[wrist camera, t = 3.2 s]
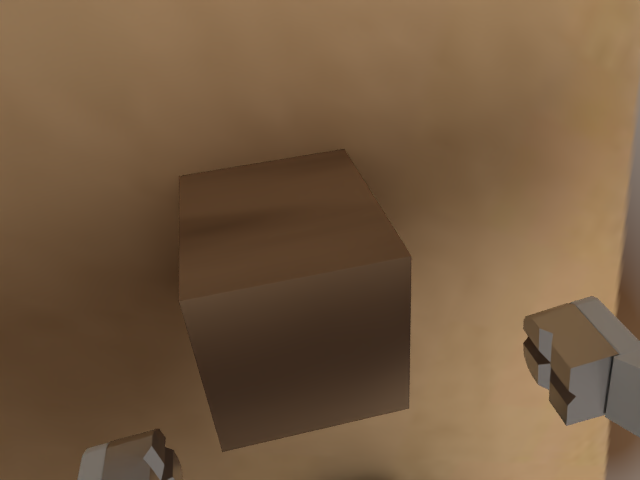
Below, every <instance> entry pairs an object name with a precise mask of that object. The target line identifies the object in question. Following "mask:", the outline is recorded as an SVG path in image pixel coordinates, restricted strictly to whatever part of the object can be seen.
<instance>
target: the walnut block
mask: <svg viewBox="0 0 640 480" xmlns="http://www.w3.org/2000/svg"><path fill="white" fill-rule="evenodd" d="M179 303H180V307H181V310H182V314H183V317H184V321H185V324H186V328H187V331H188V334H189V338H190V341H191V345H192V348H193V352H194V355H195V359H196V362H197V366H198V369H199V373H200V376H201V380H202V383H203V386H204V390H205V393H206V397H207V400H208V404H209V407H210V411H211V414H212V418H213V421H214V425H215V428H216V431H217V435H218V438H219V442H220V445H221V449H222V452H224V451H228V450H233V449H237V448H241V447H246V446H250V445H254V444H258V443H263V442H267V441H271V440H276V439H280V438H284V437H288V436H293V435H297V434H301V433H306V432H310V431H314V430H319V429H323V428H327V427H331V426H336V425H340V424H344V423H349V422H353V421H357V420H362V419H366V418H370V417H374V416H379V415H383V414H387V413H392V412H396V411H400V410H405V409H409V385H410V314H411V255H410V253H409V252H408V250H407V248H406V247H405V245H404V244H403V242H402V240H401V239H400V237H399V236H398V234H397V232H396V231H395V229H394V228H393V226H392V224H391V223H390V221H389V220H388V218H387V217H386V215H385V213H384V212H383V210H382V209H381V207H380V205H379V204H378V202H377V201H376V199H375V197H374V196H373V194H372V193H371V191H370V190H369V188H368V186H367V185H366V183H365V182H364V180H363V178H362V177H361V175H360V174H359V172H358V170H357V169H356V167H355V166H354V164H353V162H352V161H351V159H350V158H349V156H348V155H347V153H346V151H345V150H344V149H341V150H335V151H329V152H323V153H317V154H311V155H305V156H299V157H292V158H286V159H280V160H274V161H268V162H262V163H256V164H250V165H244V166H238V167H232V168H226V169H220V170H214V171H208V172H201V173H195V174H189V175H183V176H179Z"/></svg>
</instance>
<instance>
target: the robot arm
mask: <svg viewBox="0 0 640 480" xmlns="http://www.w3.org/2000/svg"><path fill="white" fill-rule="evenodd" d="M523 329H524V331H525V332H526V334H527V335H528V338H527V339H526V341H525V342H524V343H523V347H524V357H525V360H526V363H527V367H528V369H529V371H530V373H531V375H532V376H533V378H534V379H535V381H536V382H537V384H538V385H540V386H542V387H544V388H546V389H548V390H549V401H550V403H551V404H552V406H553V407H554V409H555V410H556V412H557V413H558V414H559V416H560V417H561V419H562V420H563V422H564V423H565V425H566V426H567V425H571V424H574V423H578V422H581V421H585V420H588V419H592V418H595V417H599V416H603V415H605V417H606V418H608V419H609V420H611V421H613V422H615V423H616V424H618V425H620V426H621V427H623V428H625V429H626V430H628V431H630V432H632V433H633V434H635V435H636V436H638V437H640V341H639V340H638V339H637V338H636V337H635V336H634V335H633V334H632V333H631V332H630V331H629V330H628V329H627V328H626V327H625V326H624V325H623V324H622V323H621V322H620V321H619V320H618V319H617V318H616V317H615V316H614V315H613V314H612V313H611V312H610V311H609V310H608V309H607V308H606V307H605V306H604V305H603V304H602V303H601V302H600V300H599V299H598V298H596V297H593V296H590V297H587V298H584V299H580V300H577V301H574V302H571V303H569V304H568V303H566V304H563V305H560V306H557V307H554V308H550V309H547V310H544V311H541V312H538V313H535V314H531V315H528V316H526V317H525V319H524V324H523ZM165 439H166V438H165V436H164V435H163V433H162V432H161V431H160V429H154V430H150V431H147V432H143V433H140V434H136V435H132V436H129V437H125V438H121V439H118V440H114V441H111V442H108V443H104V444H101V445H97V446H94V447H90V448H87V449H86V450H85V452H84V454H83V456H82V459H81V464H80V469H79V474H78V479H77V480H183V475H182V469H181V465H180V462H179V460H178V457H177V455H176V454H175V452H174V450H172V449H169V448H166V447H165Z"/></svg>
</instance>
